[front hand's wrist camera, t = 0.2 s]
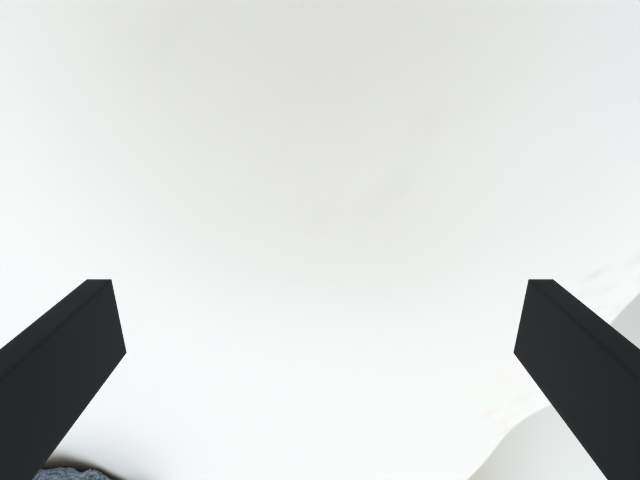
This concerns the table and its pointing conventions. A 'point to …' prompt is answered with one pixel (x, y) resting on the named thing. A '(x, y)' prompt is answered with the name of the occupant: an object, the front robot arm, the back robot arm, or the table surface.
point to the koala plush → (69, 474)
